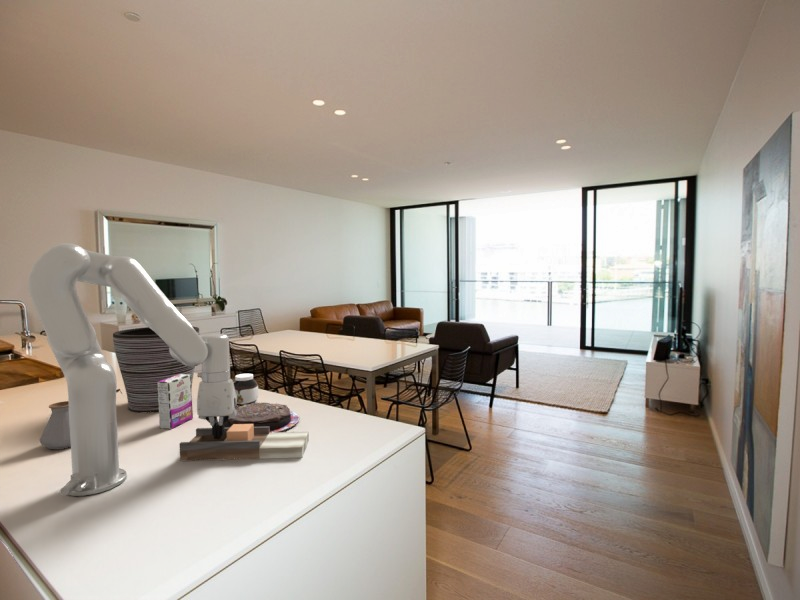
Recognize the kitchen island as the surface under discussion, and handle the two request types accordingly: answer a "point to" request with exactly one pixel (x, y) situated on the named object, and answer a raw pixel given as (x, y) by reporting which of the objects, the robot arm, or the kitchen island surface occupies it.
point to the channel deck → (244, 445)
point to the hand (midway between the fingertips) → (218, 437)
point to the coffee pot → (58, 427)
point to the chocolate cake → (265, 416)
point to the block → (240, 432)
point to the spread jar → (245, 389)
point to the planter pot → (145, 366)
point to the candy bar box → (175, 401)
